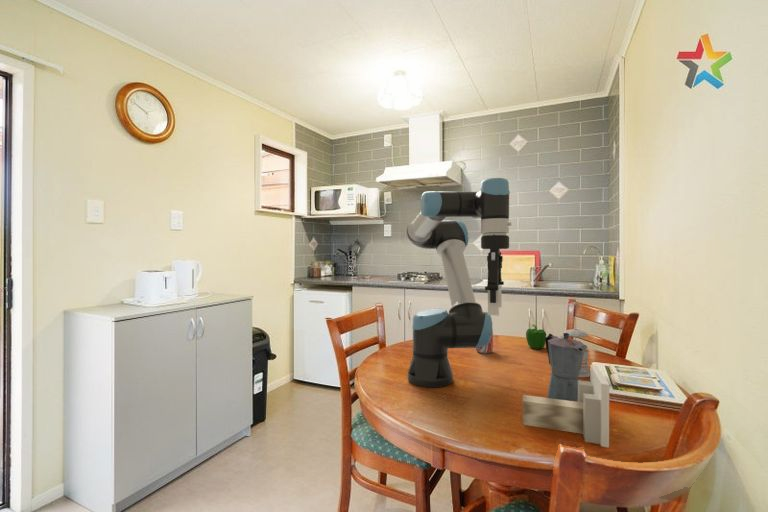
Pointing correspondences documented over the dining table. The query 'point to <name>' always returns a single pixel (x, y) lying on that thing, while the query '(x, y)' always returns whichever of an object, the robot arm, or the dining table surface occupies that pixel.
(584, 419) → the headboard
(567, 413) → the grey rectangular block
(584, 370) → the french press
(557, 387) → the moka pot
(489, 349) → the soda can
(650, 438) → the dining table surface
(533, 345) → the bell pepper
